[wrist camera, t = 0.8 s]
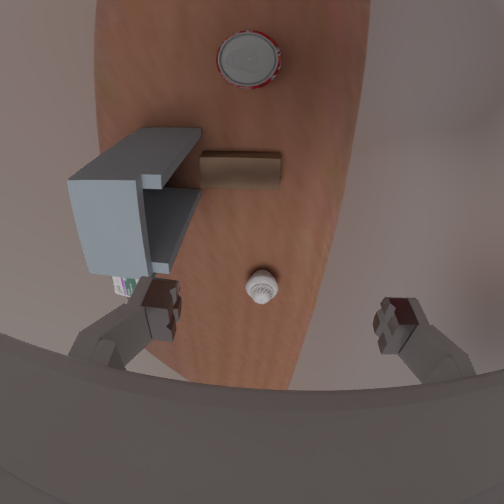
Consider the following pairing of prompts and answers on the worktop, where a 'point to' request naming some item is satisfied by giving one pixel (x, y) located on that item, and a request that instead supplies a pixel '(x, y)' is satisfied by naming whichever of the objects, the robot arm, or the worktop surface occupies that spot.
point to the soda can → (249, 59)
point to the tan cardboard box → (240, 170)
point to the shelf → (134, 203)
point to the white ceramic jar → (262, 286)
